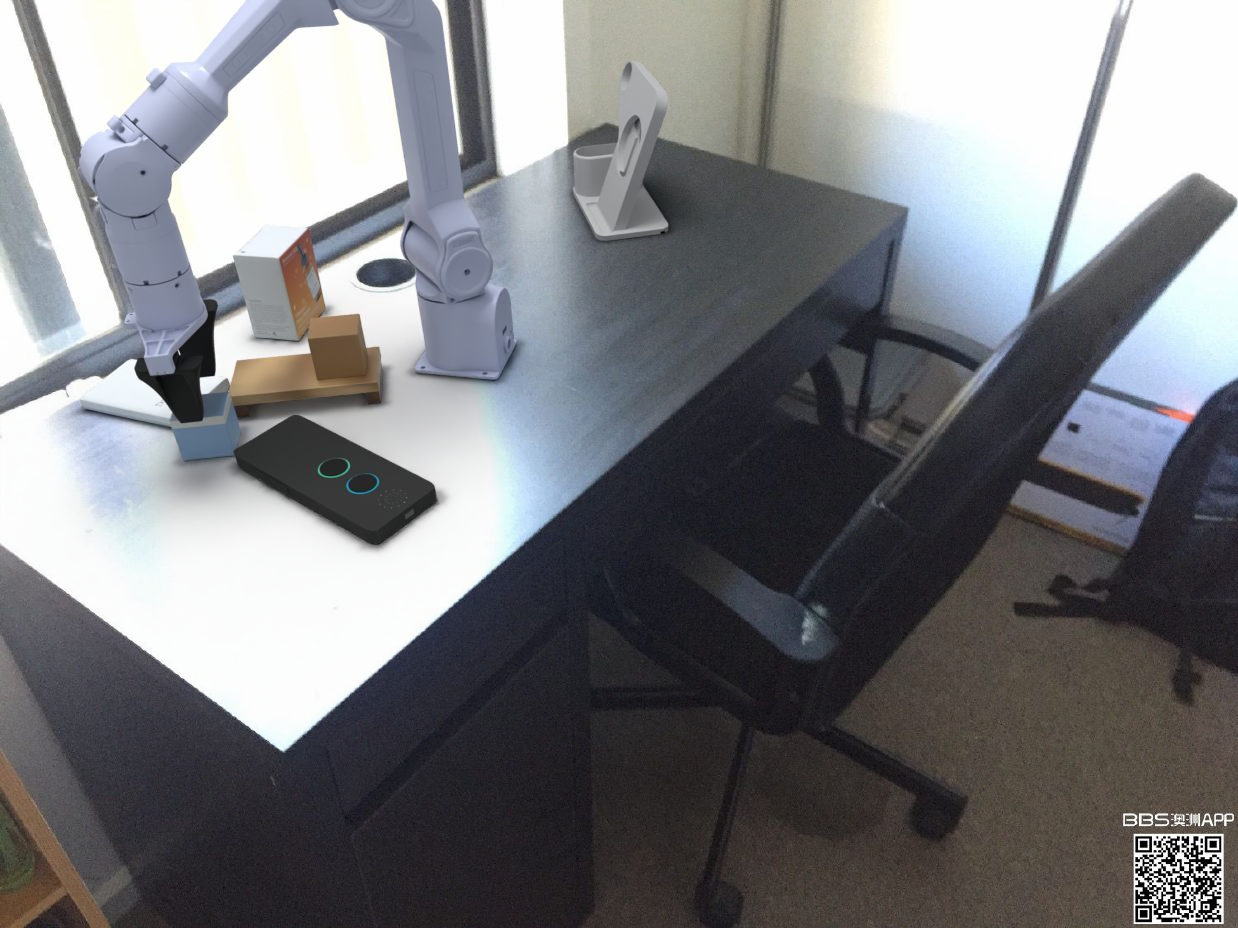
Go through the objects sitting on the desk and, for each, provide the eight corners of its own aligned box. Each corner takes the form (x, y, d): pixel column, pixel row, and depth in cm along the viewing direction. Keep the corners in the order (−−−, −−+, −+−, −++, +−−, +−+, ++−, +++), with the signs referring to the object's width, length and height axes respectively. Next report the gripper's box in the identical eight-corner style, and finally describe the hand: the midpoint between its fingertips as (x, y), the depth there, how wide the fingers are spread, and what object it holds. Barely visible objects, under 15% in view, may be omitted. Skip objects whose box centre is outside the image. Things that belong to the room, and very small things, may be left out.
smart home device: (371, 533, 91) (228, 451, 101) (375, 547, 92) (232, 466, 102) (439, 483, 96) (296, 410, 106) (441, 498, 97) (300, 424, 107)
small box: (298, 342, 120) (278, 258, 113) (253, 338, 121) (230, 255, 114) (327, 308, 126) (310, 226, 119) (284, 304, 127) (264, 223, 120)
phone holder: (570, 189, 151) (564, 61, 140) (639, 181, 153) (637, 54, 142) (597, 242, 138) (593, 105, 127) (672, 232, 140) (673, 96, 129)
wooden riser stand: (383, 368, 115) (379, 346, 113) (382, 404, 110) (377, 381, 108) (242, 382, 114) (236, 360, 112) (234, 419, 108) (227, 396, 106)
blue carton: (241, 430, 107) (229, 391, 104) (235, 455, 103) (223, 415, 100) (190, 435, 106) (176, 396, 103) (183, 461, 103) (169, 421, 100)
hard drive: (135, 369, 116) (231, 388, 113) (83, 410, 110) (183, 431, 107) (131, 357, 115) (227, 375, 112) (78, 397, 109) (178, 418, 106)
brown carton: (367, 354, 112) (359, 313, 109) (366, 375, 109) (357, 334, 106) (319, 358, 112) (310, 317, 109) (317, 380, 108) (307, 338, 105)
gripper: (126, 238, 98) (169, 361, 106) (89, 316, 87) (140, 446, 95) (204, 231, 99) (240, 354, 107) (177, 307, 87) (220, 438, 96)
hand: (198, 397), depth 101 cm, fingers open, 7 cm apart
